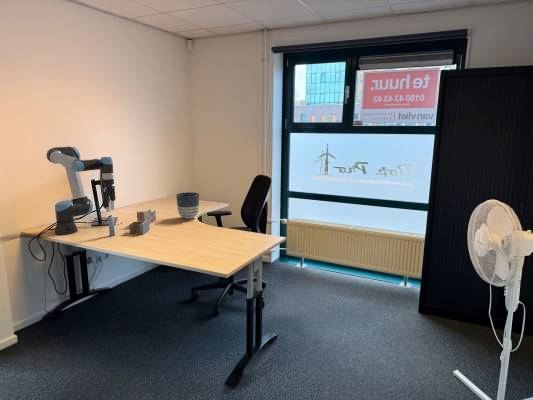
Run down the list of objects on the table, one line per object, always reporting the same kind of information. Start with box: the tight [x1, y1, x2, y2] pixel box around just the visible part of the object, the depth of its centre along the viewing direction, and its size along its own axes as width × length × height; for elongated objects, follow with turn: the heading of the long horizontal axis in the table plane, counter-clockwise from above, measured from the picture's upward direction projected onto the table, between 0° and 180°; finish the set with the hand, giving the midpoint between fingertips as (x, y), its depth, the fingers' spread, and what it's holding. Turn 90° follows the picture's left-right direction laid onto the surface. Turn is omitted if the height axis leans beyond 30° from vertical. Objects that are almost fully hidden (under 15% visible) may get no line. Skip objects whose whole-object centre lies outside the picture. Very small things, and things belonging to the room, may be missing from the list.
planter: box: [175, 191, 200, 220], centre depth 324 cm, size 20×20×21 cm
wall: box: [140, 220, 150, 236], centre depth 281 cm, size 2×12×8 cm, turn 176°
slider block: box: [128, 221, 143, 235], centre depth 282 cm, size 9×9×7 cm
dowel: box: [107, 216, 116, 237], centre depth 272 cm, size 4×4×14 cm
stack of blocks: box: [136, 208, 157, 225], centre depth 307 cm, size 21×6×12 cm, turn 172°
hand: (110, 210), depth 269 cm, fingers open, 6 cm apart
